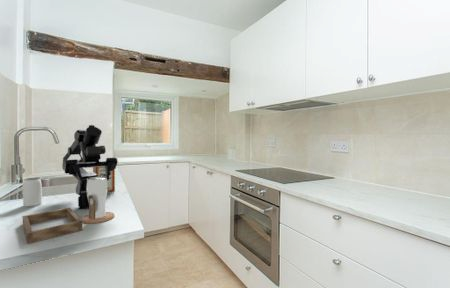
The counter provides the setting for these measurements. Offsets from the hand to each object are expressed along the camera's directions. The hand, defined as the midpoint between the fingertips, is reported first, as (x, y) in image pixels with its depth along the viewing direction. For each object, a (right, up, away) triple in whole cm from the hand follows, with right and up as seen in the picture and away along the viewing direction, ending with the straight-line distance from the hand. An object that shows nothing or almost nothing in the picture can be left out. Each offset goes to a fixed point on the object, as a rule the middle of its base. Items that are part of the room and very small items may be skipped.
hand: (95, 181), depth 90 cm
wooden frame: (-8, -14, -12) cm, 20 cm away
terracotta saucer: (+3, -14, -3) cm, 14 cm away
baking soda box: (-17, -12, +38) cm, 44 cm away
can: (-36, -13, +13) cm, 40 cm away
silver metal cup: (+3, -13, -3) cm, 14 cm away
